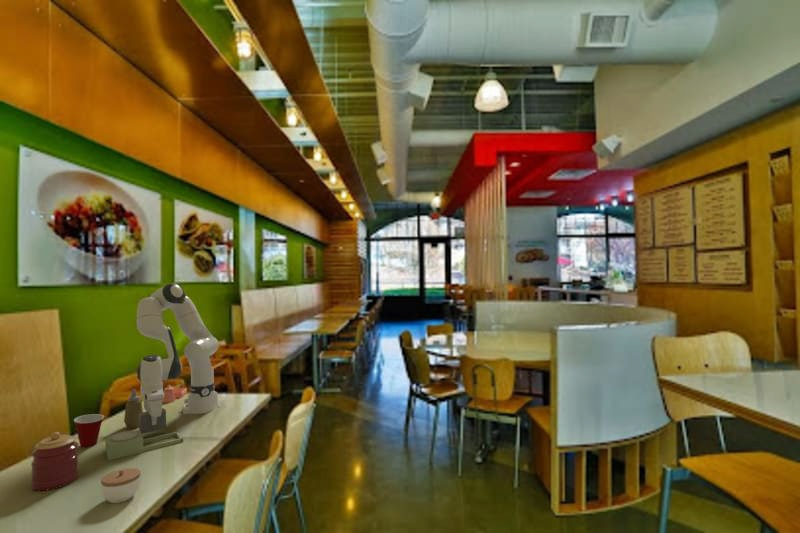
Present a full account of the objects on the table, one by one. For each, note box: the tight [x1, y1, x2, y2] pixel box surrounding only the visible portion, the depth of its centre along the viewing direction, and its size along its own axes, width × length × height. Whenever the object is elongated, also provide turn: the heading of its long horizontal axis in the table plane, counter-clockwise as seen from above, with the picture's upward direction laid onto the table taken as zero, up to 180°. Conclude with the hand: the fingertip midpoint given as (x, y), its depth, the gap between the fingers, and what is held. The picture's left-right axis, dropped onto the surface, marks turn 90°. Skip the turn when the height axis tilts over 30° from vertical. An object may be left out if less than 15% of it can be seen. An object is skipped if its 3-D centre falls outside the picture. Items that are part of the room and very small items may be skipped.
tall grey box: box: [138, 407, 167, 435], centre depth 193 cm, size 5×10×8 cm, turn 130°
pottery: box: [162, 384, 187, 404], centre depth 253 cm, size 18×10×10 cm, turn 8°
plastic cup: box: [73, 413, 105, 449], centre depth 184 cm, size 11×11×12 cm
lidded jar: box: [100, 467, 141, 504], centre depth 138 cm, size 11×11×9 cm
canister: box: [30, 431, 79, 491], centre depth 151 cm, size 13×13×18 cm
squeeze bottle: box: [123, 388, 144, 429], centre depth 206 cm, size 8×8×18 cm
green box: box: [105, 429, 184, 461], centre depth 181 cm, size 12×27×7 cm, turn 128°
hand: (152, 422), depth 193 cm, fingers closed on tall grey box, 5 cm apart
